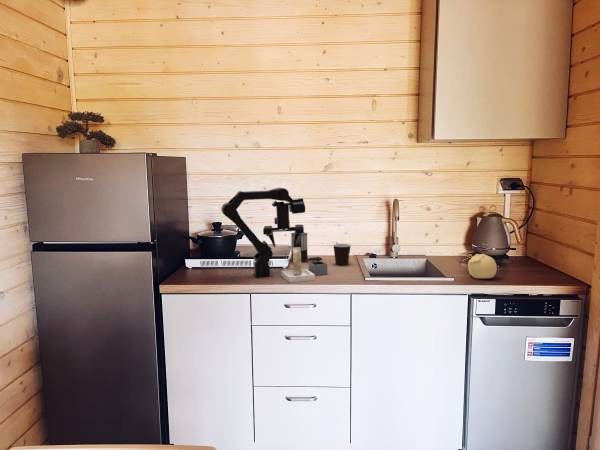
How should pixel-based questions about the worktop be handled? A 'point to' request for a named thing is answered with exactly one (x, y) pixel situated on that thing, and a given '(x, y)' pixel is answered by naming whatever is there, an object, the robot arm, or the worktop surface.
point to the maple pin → (297, 261)
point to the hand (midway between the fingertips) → (284, 247)
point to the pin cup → (318, 268)
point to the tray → (290, 277)
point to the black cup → (341, 254)
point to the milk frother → (302, 247)
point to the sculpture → (482, 266)
